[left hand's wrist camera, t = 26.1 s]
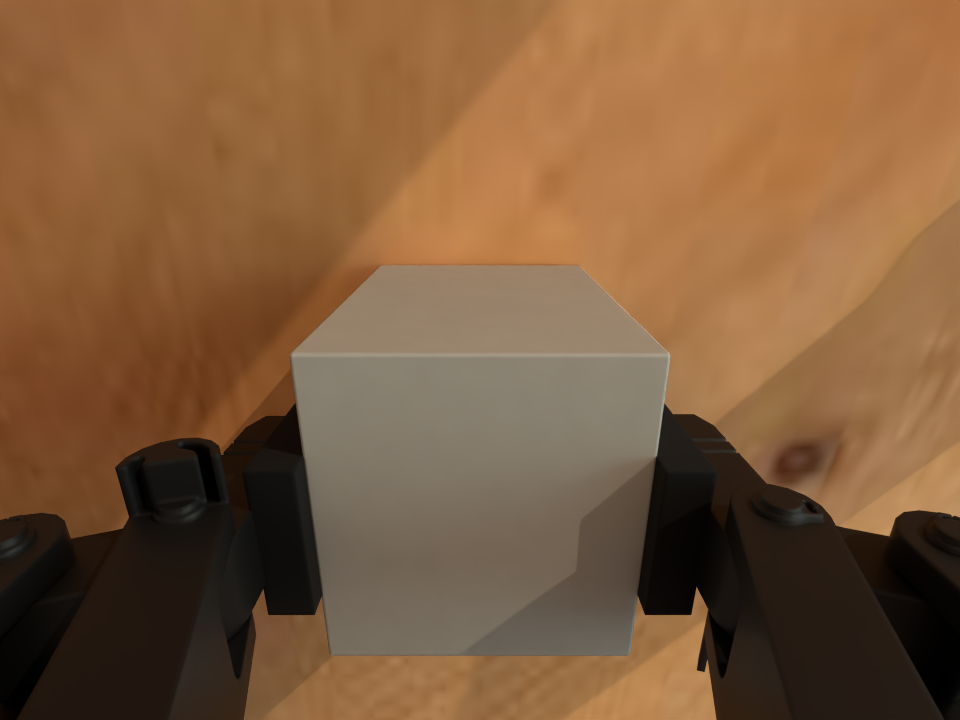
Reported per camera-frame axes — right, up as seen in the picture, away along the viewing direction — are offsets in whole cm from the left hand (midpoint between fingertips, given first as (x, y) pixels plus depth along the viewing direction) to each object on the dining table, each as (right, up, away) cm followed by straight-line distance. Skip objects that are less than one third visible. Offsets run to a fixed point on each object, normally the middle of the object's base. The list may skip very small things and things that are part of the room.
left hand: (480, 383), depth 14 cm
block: (0, 0, +1) cm, 1 cm away
